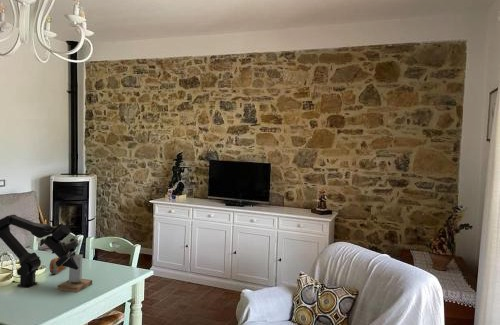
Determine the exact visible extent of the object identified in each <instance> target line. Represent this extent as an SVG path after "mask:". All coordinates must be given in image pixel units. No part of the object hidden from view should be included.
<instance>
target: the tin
mask: <svg viewBox="0 0 500 325" xmlns="http://www.w3.org/2000/svg"><path fill="white" fill-rule="evenodd" d="M57 260H58V256H57V255H56V256H55V257H54V258H52V259H51V260H50V262H49V273H50V274H52V275H57V274H59V273H61V272H62V271H64V270H65V269H66V267H65V266H59V267H58V266H57V265H56V261H57Z"/></svg>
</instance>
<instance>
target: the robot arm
mask: <svg viewBox="0 0 500 325" xmlns="http://www.w3.org/2000/svg"><path fill="white" fill-rule="evenodd" d="M11 225H12V226H15V227H17V228H20V229H22V230H26V231H28V232H29V233H30V234H32V236H34V237H36V238H37V239H40V241H39V242H40V243H39V247H42V246H43V245H45V246H46V247H47V248H48V249H49V250H50V251H51V254H55V256H56V257H57V256H58V260H57V261H56V265H57V266H58V267H59V266H65V268H72V269H76V270H77V269H78V267H77V265H76V264H75V263H74V262H73V260H72V256H71V255H72V254H77V253H76V252H77V250H76V249H77V248H78V247H79V245H80V244H79V240H78V239H77V238H75V237H71V238H70V239H69V242H64V241H63V240H65V238H67V237H68V236H69V235H70V234H71V232H72V231H71V228H70V227H68V226H67V225H65V224H63V222H62V223H59V224H58V225H57V226H56V227H54V226H51V225H50V224H48V223H43V222H42V223H41V222H40V223H38V222H34V221H31V220H29V219H26V218H24V217H21V216H18V215H16V214H13V213H12V214H10V215H6V216H4V217H3V218H0V240H2V241H3V243H4V244H5V245H6V246H7V248H9V249H10V250H11V252H12V253H13V254H14V255H15V256H16V257H17V258H18V261H19V266H20V267H19V268H18V269H17V270H16V274H17V275H18V276H19V278H20V279H19V283H18V284H17V287H22V288H30V287H32V286H34V285H36V284H38V281H36V272H37V271H39V268H40V267H41V264H42V261H41V259H40V256H38V255H37V253H36V252H35V251H34V252H29V251H28V250H27V249H26V248H25V246H23V244H22V243H21V242H20V241H19V240H18V239H17V238H16V237H15V236H14V235H13V233H12V232H11V228H10V226H11ZM44 237H45V238H44ZM41 238H42V239H41Z"/></svg>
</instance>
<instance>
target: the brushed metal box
mask: <svg viewBox="0 0 500 325" xmlns="http://www.w3.org/2000/svg"><path fill="white" fill-rule="evenodd" d="M71 256H72V260H73V262H74V263H75V264H76V265H77V267H78V269H77V270H76V269H72V268H69V267H68V268H69V269H68V273H69V274H68V280H69V282H80V280H81V279H83V254H77V253H76V254H72V255H71Z"/></svg>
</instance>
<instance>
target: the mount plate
mask: <svg viewBox="0 0 500 325" xmlns="http://www.w3.org/2000/svg"><path fill="white" fill-rule="evenodd" d="M91 285H93V279H86V278H82V279H81V280H80V282H69V279H68V280H66V281H64V282H62V283H60V284H58V285H57V290H58V291H59V290H60V291H66V292H72V293H78V292H81V291H82V290H84V289H86V288H87V287H90V286H91Z"/></svg>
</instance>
